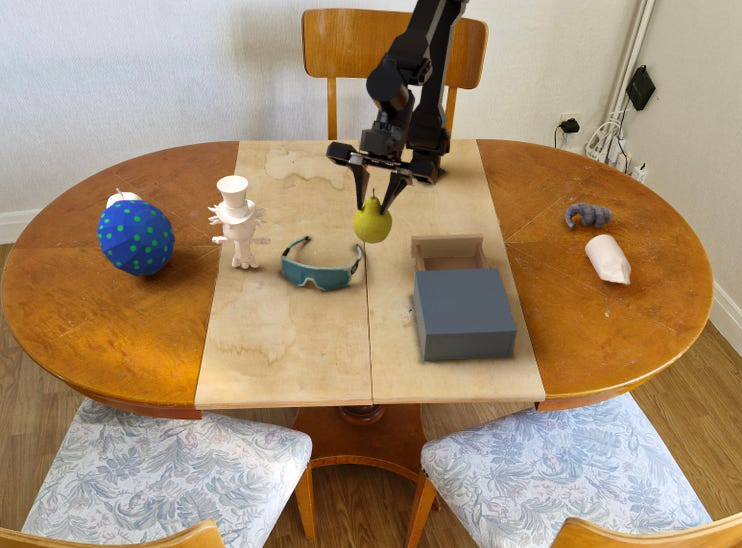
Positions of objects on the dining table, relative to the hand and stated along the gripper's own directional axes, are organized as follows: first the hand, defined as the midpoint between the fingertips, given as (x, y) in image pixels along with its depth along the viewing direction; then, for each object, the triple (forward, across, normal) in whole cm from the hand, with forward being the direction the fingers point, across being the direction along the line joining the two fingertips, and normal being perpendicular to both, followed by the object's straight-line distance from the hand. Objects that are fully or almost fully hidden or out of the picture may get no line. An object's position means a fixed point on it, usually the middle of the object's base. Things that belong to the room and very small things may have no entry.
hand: (370, 212), depth 118 cm
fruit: (+4, 0, +6) cm, 7 cm away
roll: (0, +42, +20) cm, 47 cm away
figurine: (+14, -22, +4) cm, 27 cm away
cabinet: (+15, +20, +4) cm, 25 cm away
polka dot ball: (+18, -40, 0) cm, 44 cm away
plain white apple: (+12, -49, +7) cm, 51 cm away
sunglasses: (+10, -9, +8) cm, 16 cm away
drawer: (+6, +15, +11) cm, 19 cm away
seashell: (-11, +36, +31) cm, 49 cm away
